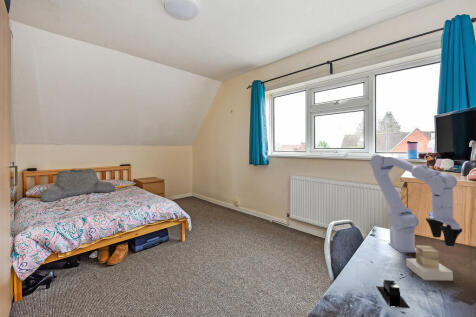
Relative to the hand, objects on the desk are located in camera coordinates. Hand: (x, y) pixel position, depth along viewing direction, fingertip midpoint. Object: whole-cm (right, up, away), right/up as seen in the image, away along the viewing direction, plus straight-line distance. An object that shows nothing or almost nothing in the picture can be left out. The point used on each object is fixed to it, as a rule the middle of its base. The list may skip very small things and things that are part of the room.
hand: (442, 241), depth 81 cm
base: (-9, -10, -4) cm, 14 cm away
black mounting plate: (-30, -12, -15) cm, 36 cm away
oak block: (-9, -7, -4) cm, 12 cm away
